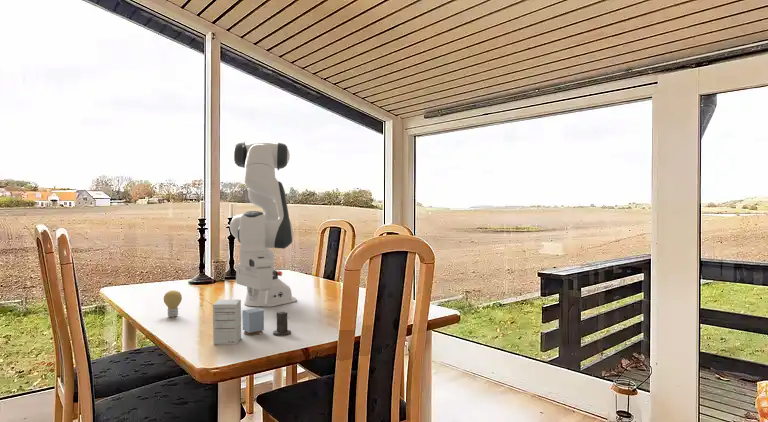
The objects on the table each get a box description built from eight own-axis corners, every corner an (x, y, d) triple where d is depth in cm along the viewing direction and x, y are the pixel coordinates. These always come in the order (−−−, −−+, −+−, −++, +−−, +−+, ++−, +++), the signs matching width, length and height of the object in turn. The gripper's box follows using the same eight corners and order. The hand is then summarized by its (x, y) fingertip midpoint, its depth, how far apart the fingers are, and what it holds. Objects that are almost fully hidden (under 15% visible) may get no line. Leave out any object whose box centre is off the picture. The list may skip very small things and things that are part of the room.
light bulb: (175, 318, 185) (175, 292, 185) (160, 318, 187) (159, 291, 186) (185, 314, 192) (185, 289, 191) (170, 314, 193) (170, 288, 193)
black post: (285, 330, 169) (285, 309, 169) (294, 333, 165) (294, 313, 164) (269, 333, 165) (269, 312, 165) (278, 337, 161) (278, 315, 160)
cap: (256, 327, 169) (256, 308, 169) (263, 330, 165) (263, 310, 165) (242, 329, 166) (242, 310, 166) (249, 332, 162) (249, 312, 162)
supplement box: (218, 338, 159) (218, 299, 159) (241, 337, 160) (241, 299, 160) (212, 344, 152) (212, 304, 152) (236, 344, 153) (236, 303, 152)
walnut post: (257, 329, 170) (257, 309, 170) (265, 333, 165) (265, 312, 165) (241, 332, 166) (240, 311, 166) (248, 336, 161) (248, 315, 161)
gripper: (231, 257, 171) (231, 297, 171) (258, 263, 155) (258, 306, 156) (248, 256, 175) (248, 295, 175) (276, 261, 159) (276, 304, 160)
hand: (253, 300), depth 165 cm, fingers closed
